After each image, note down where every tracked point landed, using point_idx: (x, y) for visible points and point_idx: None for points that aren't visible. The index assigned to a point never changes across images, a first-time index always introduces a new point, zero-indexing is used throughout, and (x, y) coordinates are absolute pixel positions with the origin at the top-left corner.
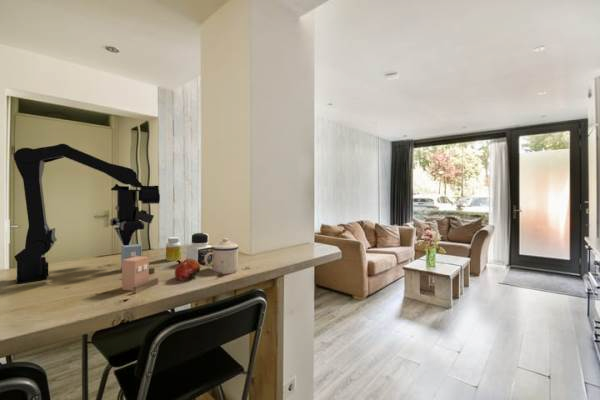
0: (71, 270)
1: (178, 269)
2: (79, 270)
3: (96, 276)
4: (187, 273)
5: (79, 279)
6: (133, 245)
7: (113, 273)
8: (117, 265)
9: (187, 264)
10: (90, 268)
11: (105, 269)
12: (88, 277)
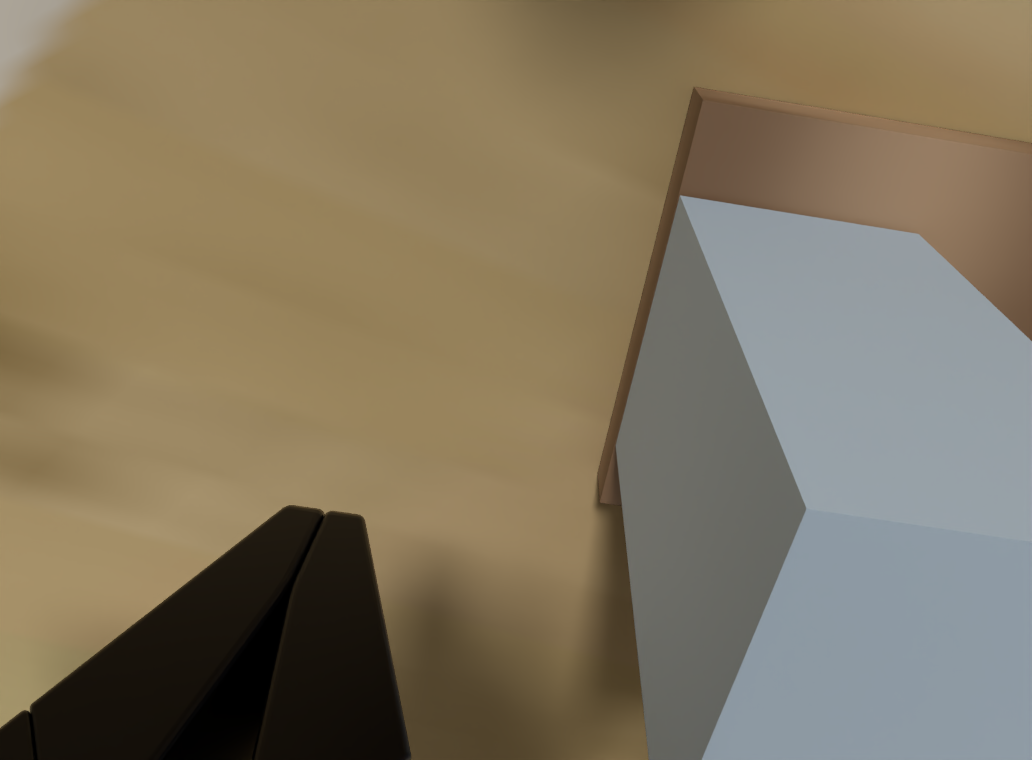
0: (24, 695)
1: None
2: (80, 654)
3: (547, 642)
4: None
5: (531, 755)
6: (943, 696)
7: (570, 489)
8: (56, 264)
9: None
10: (38, 560)
11: (237, 472)
12: (520, 694)
